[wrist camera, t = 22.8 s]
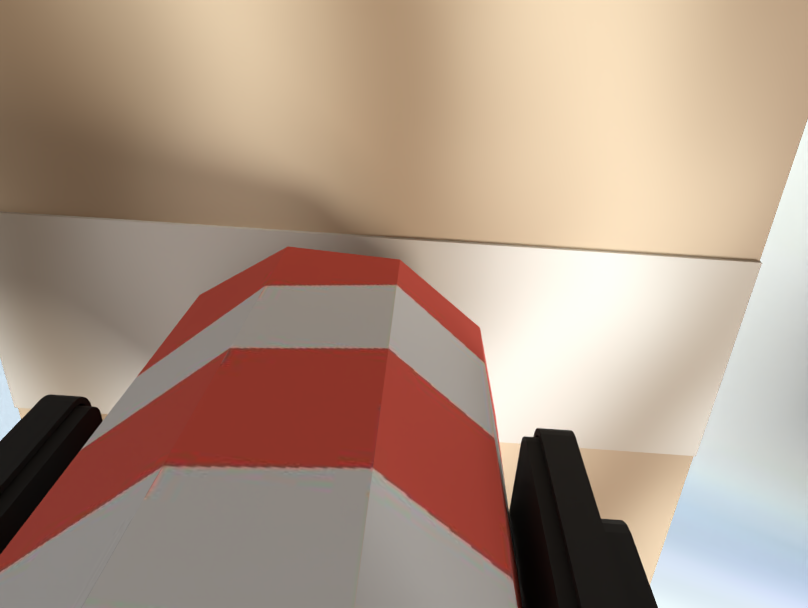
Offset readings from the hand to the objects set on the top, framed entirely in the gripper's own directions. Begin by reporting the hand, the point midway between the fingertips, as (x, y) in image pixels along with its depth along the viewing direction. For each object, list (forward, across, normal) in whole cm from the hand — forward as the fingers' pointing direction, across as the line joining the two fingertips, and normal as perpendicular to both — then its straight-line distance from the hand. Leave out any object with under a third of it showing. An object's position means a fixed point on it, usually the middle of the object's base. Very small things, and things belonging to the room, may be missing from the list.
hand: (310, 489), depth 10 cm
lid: (+5, 0, 0) cm, 5 cm away
